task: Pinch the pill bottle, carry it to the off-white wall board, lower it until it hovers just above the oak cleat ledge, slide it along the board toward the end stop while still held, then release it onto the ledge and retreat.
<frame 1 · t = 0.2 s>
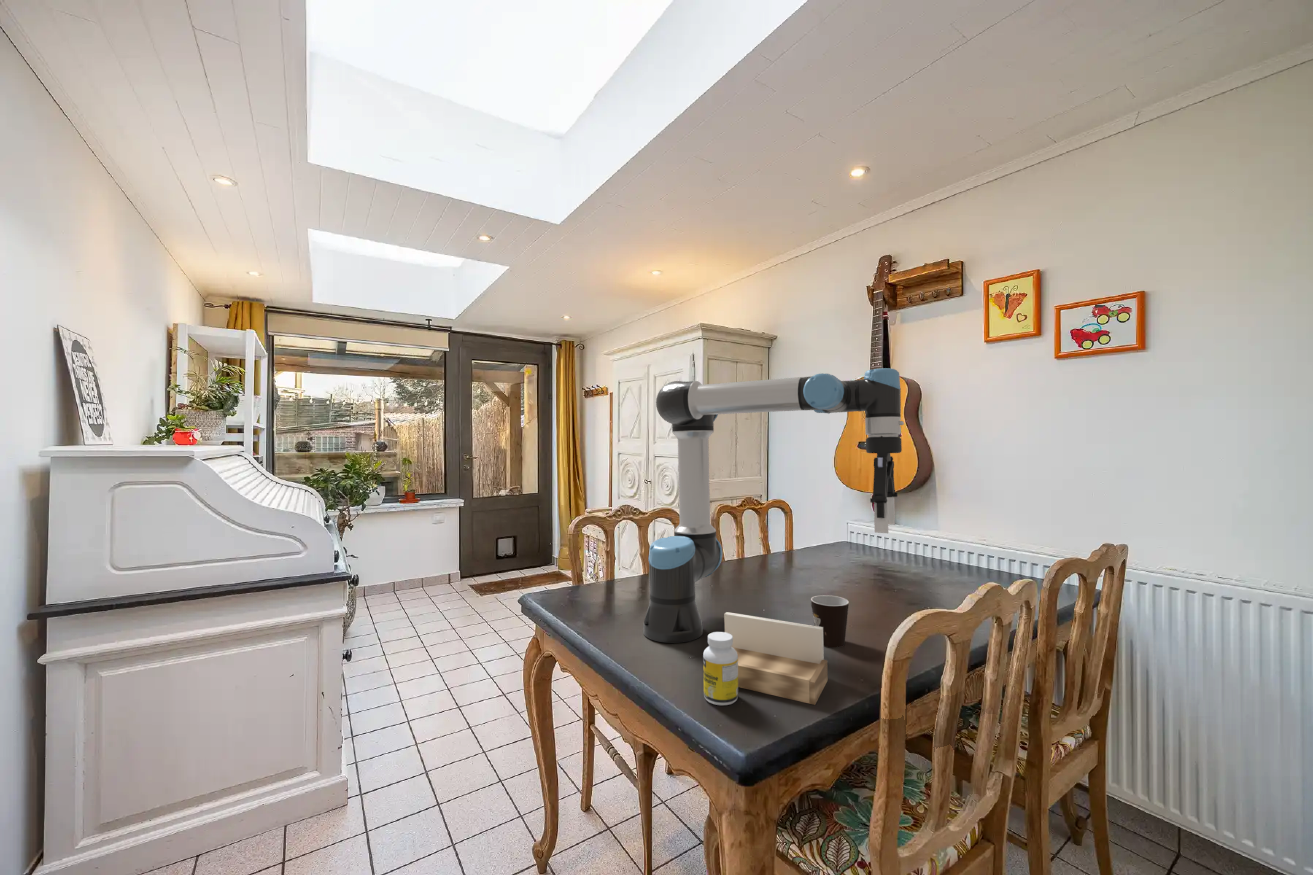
hand: (885, 528, 118), 28 cm above the table, fingers open, 13 cm apart
pill bottle: (721, 699, 96), on the table
coffee mug: (829, 640, 124), on the table
wall board: (772, 667, 109), on the table
cleat ledge: (764, 678, 104), on the table
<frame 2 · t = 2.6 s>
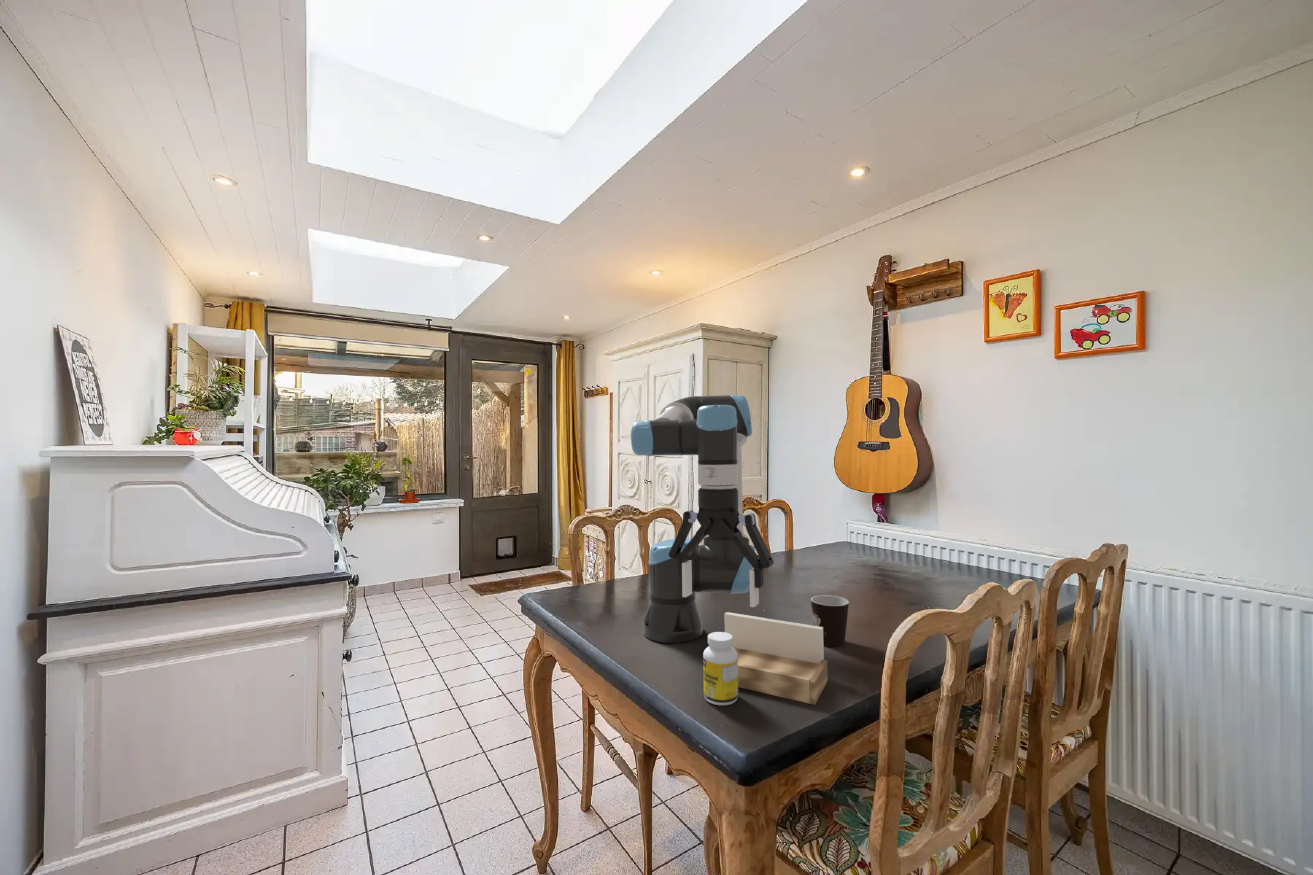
hand: (719, 600, 97), 18 cm above the table, fingers open, 13 cm apart
nothing on the table moved.
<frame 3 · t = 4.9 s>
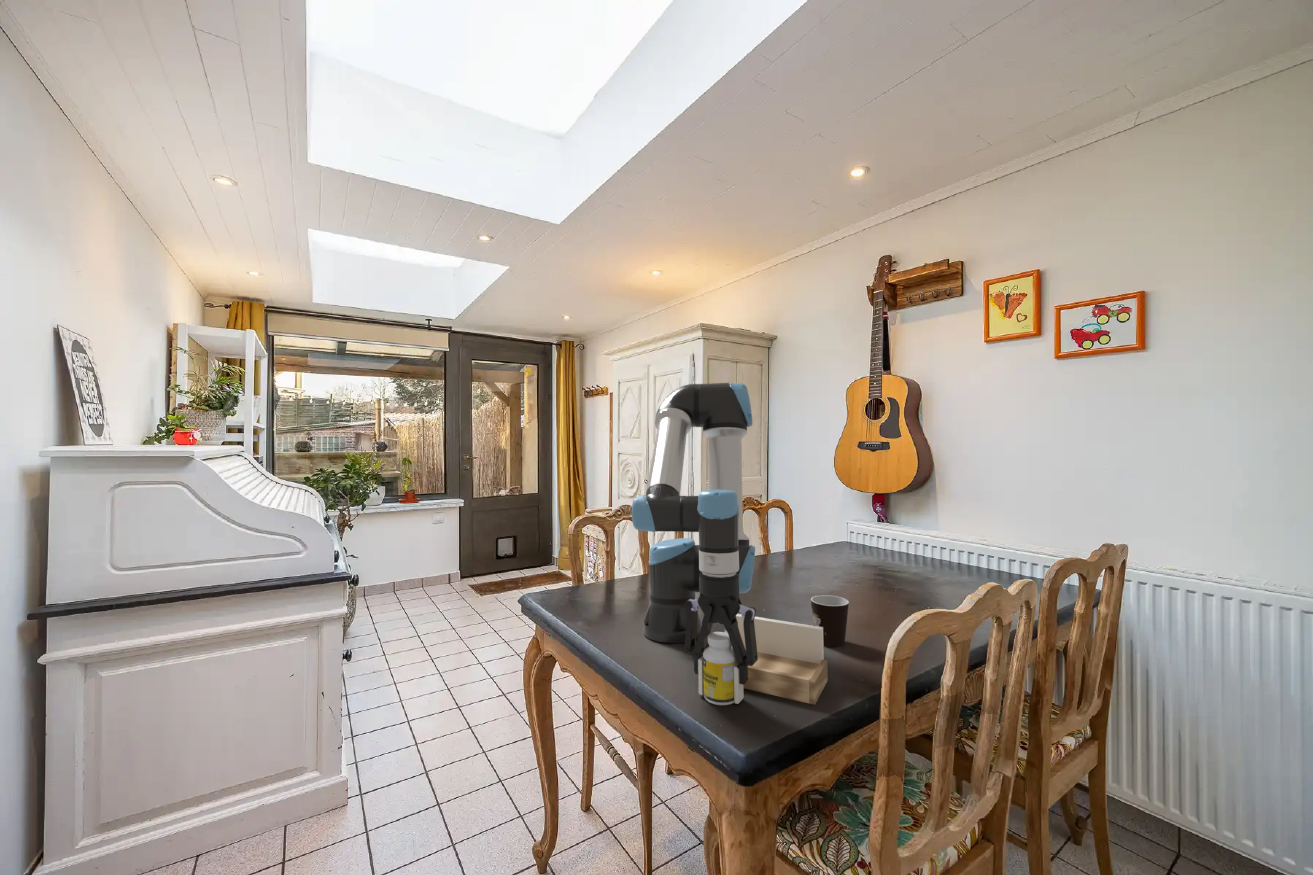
hand: (720, 695, 96), 0 cm above the table, fingers closed on pill bottle, 6 cm apart
pill bottle: (721, 699, 96), on the table, touching gripper
everything else where it was.
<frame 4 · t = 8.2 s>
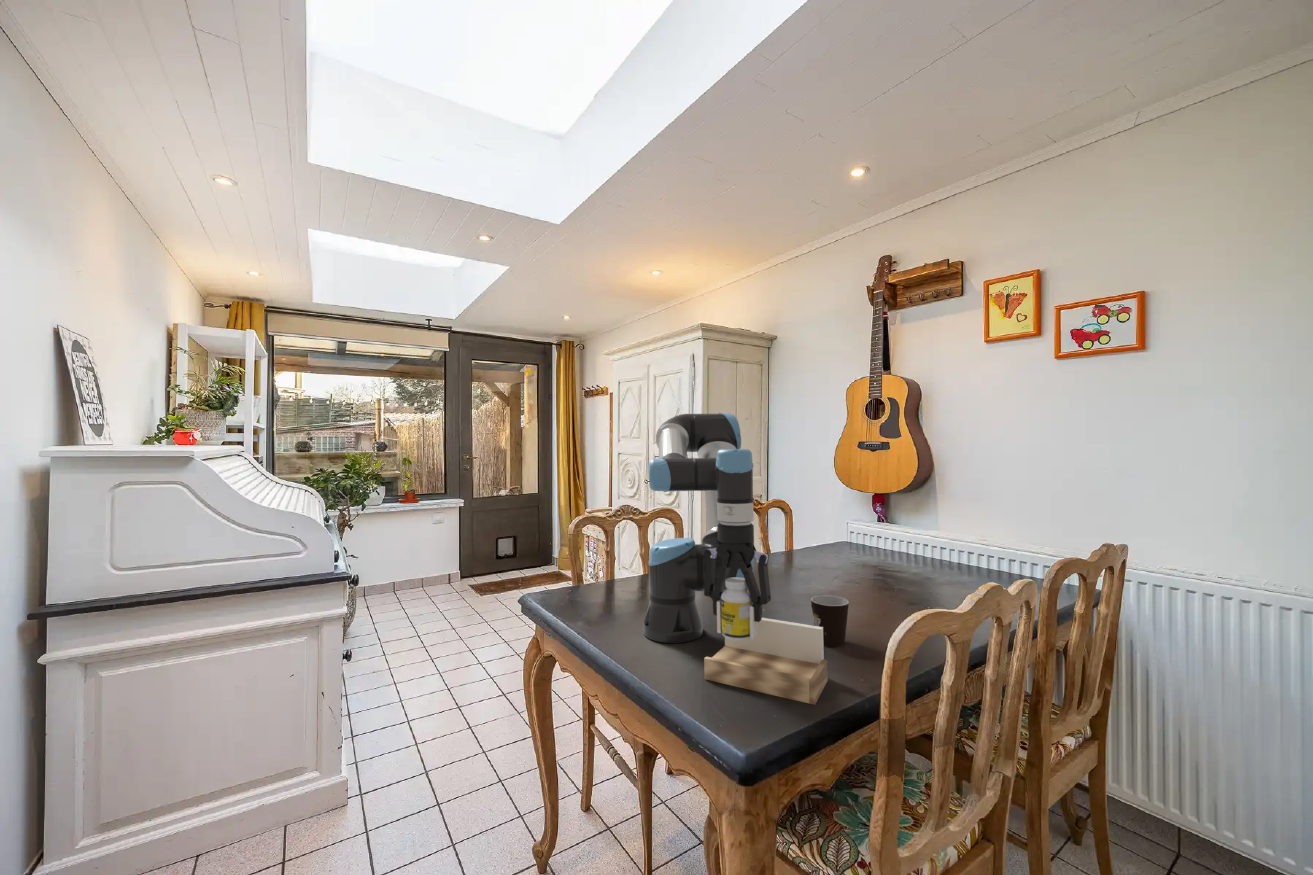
hand: (737, 633, 107), 8 cm above the table, fingers closed on pill bottle, 6 cm apart
pill bottle: (737, 636, 107), point 8 cm above the table, touching gripper
everything else where it was.
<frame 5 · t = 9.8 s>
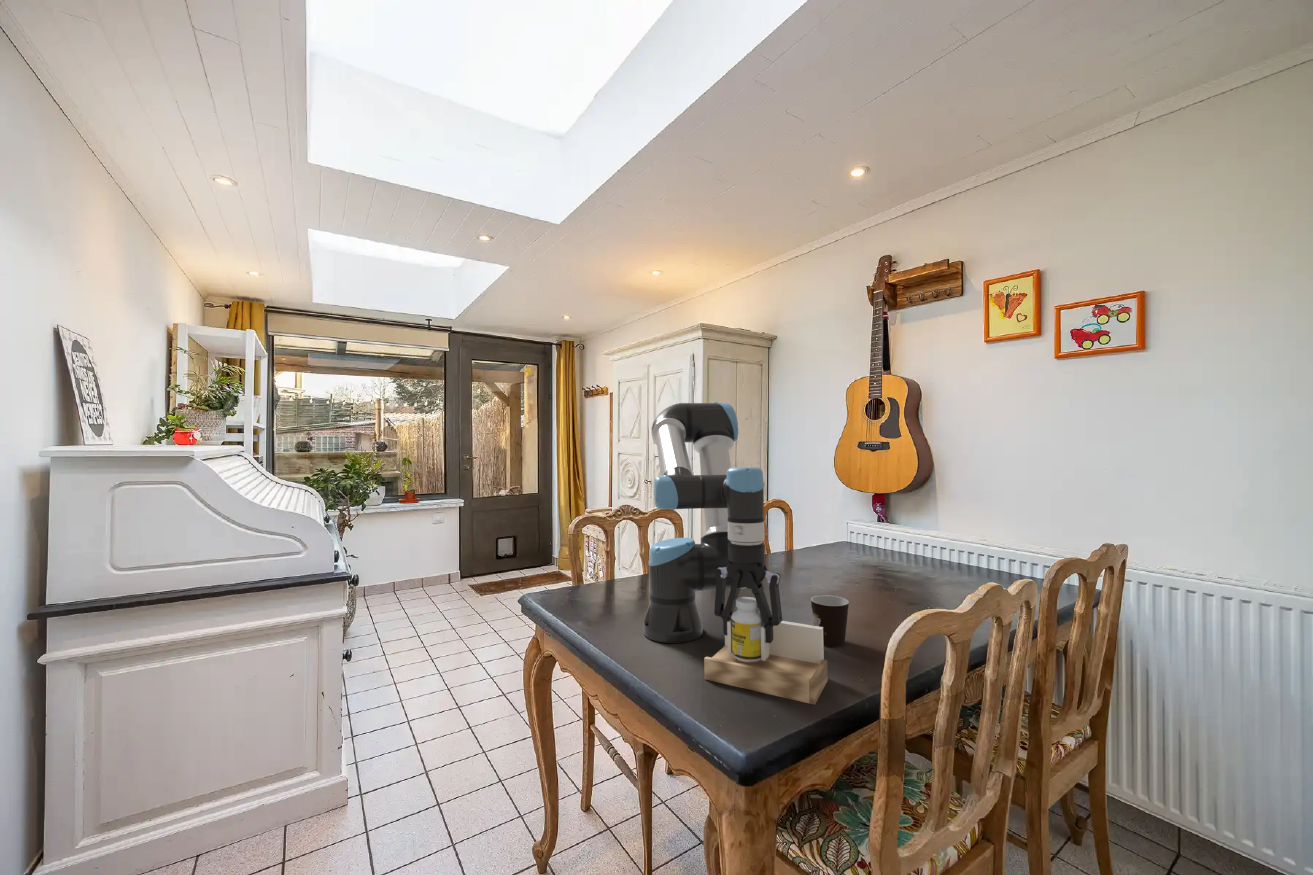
hand: (748, 654, 105), 4 cm above the table, fingers closed on pill bottle, 6 cm apart
pill bottle: (748, 657, 105), point 4 cm above the table, touching gripper
everything else where it was.
when the fingers open (4 cm above the table, at t = 11.5 s): pill bottle stays where it is, resting on cleat ledge.
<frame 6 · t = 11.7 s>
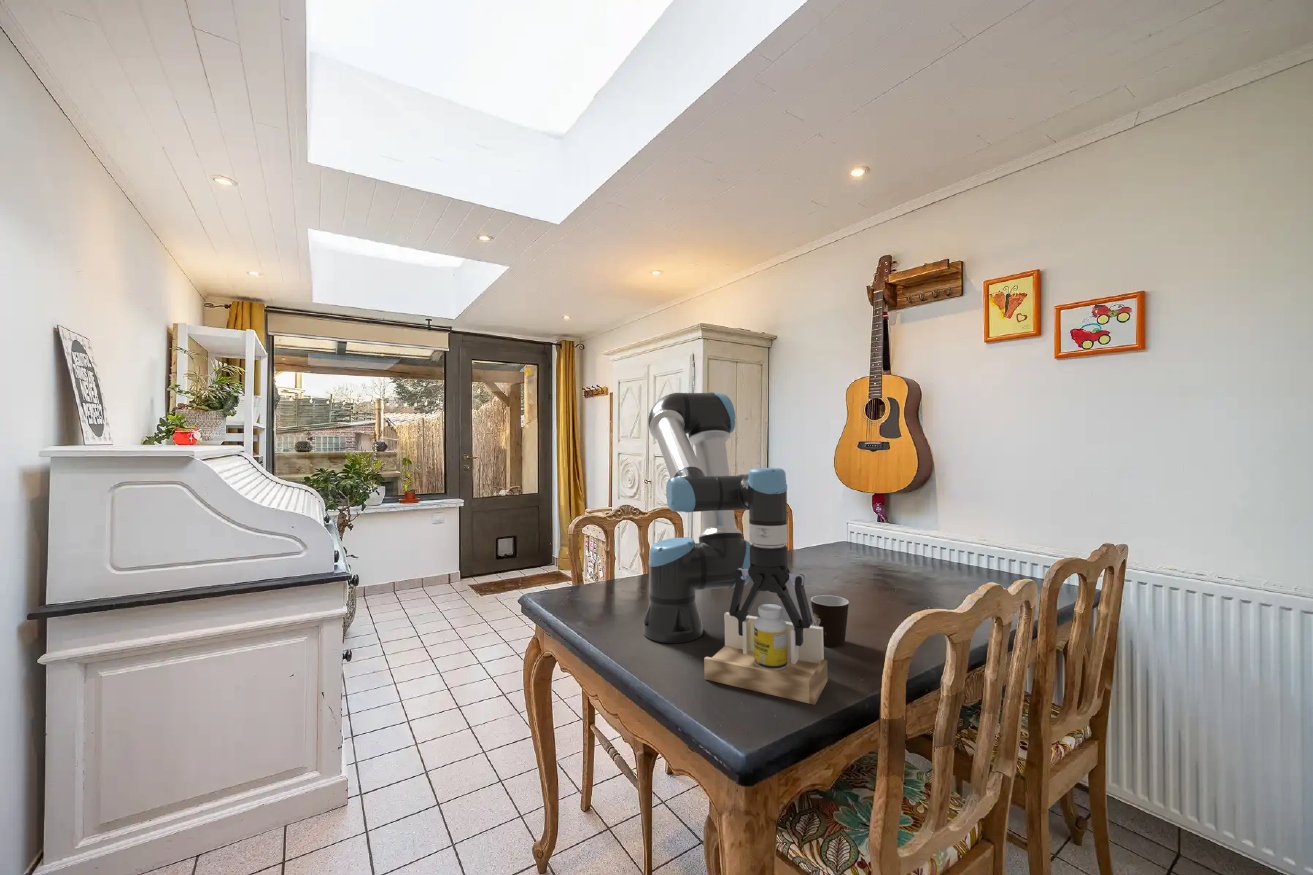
hand: (770, 656, 103), 5 cm above the table, fingers open, 9 cm apart
pill bottle: (771, 666, 103), point 3 cm above the table, touching cleat ledge
everything else where it was.
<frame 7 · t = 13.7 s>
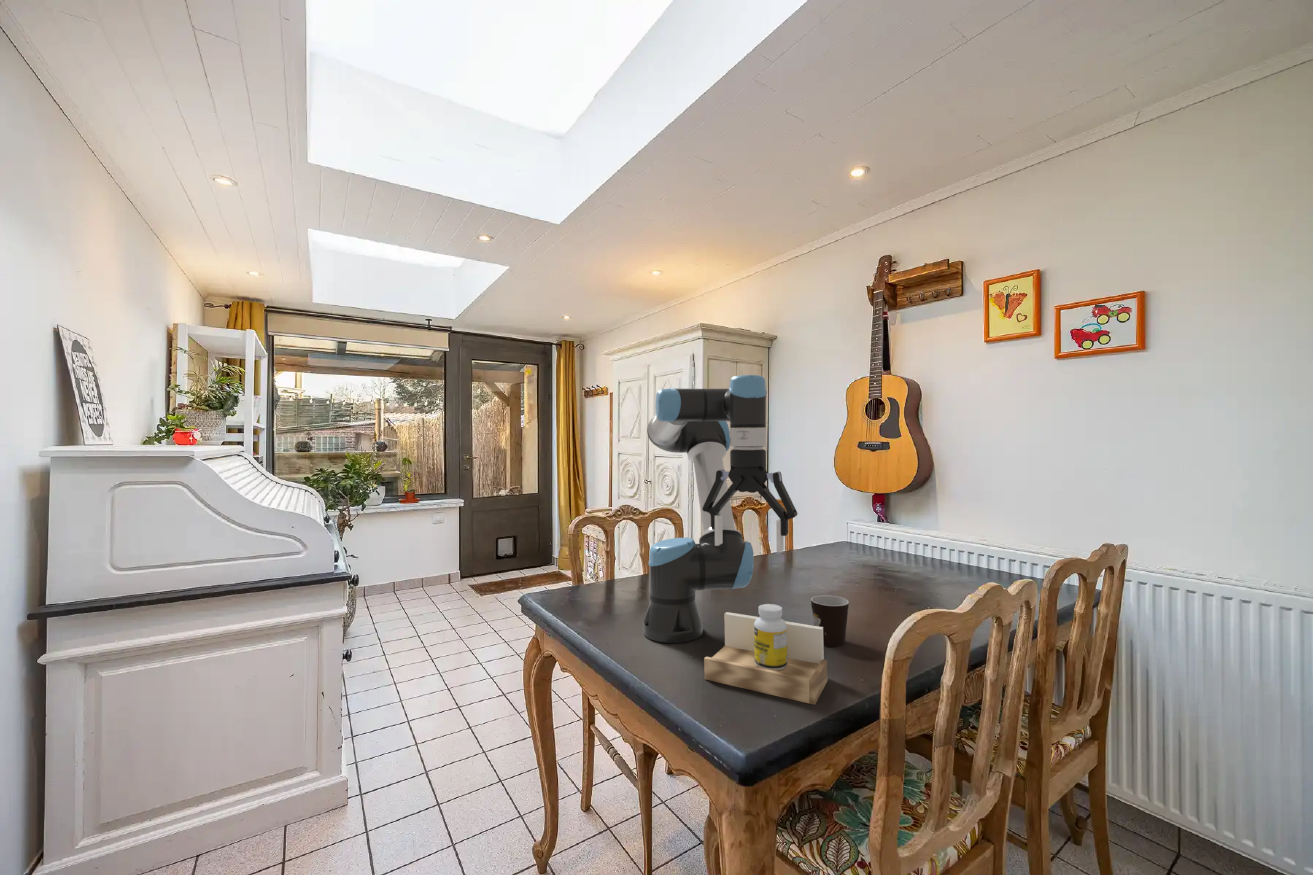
hand: (748, 547, 110), 25 cm above the table, fingers open, 13 cm apart
nothing on the table moved.
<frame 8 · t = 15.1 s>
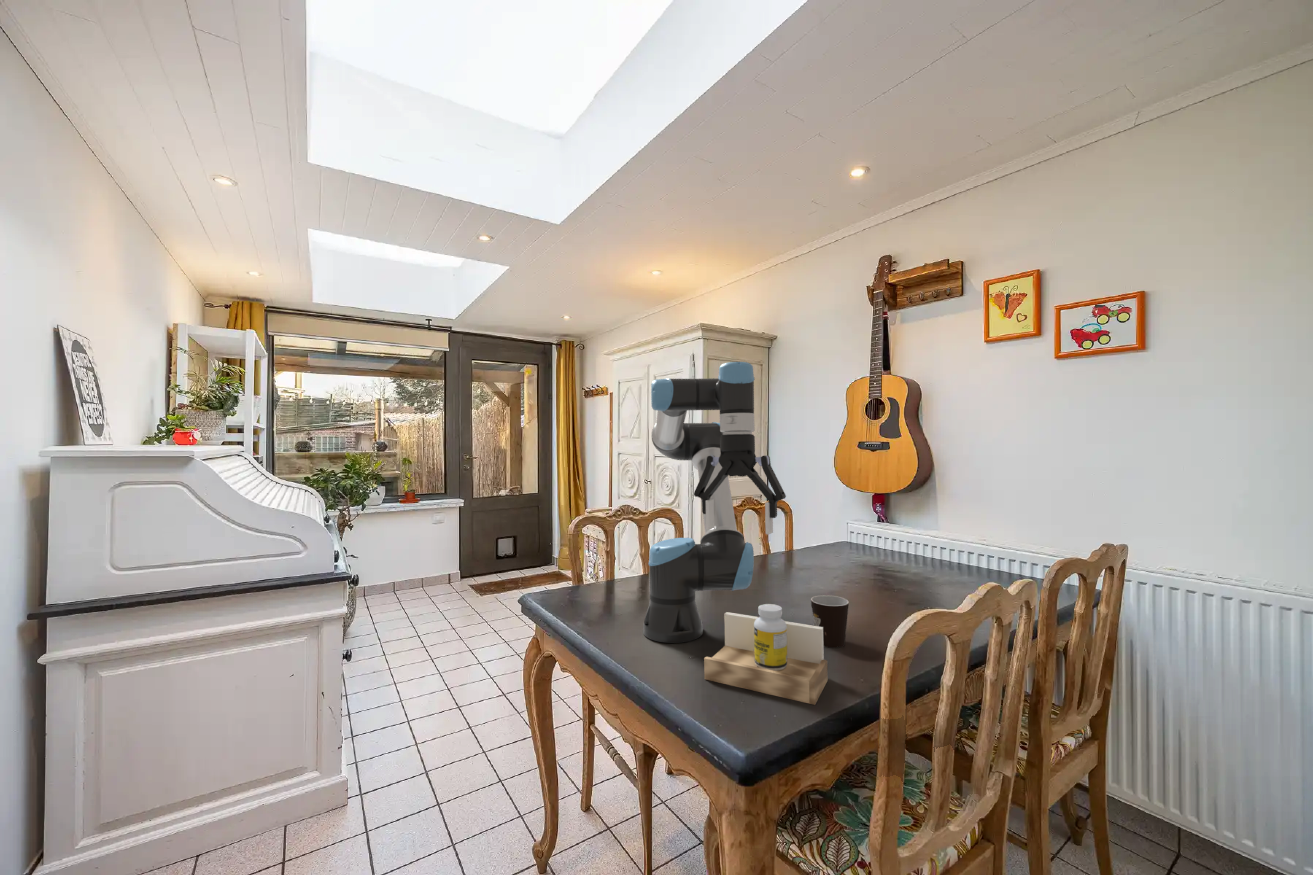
hand: (738, 531, 112), 29 cm above the table, fingers open, 13 cm apart
nothing on the table moved.
at the end: pill bottle inside the target area (2.2 cm from its centre), point 2.8 cm above the table; pill bottle tilted 0°; the gripper is holding nothing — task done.
